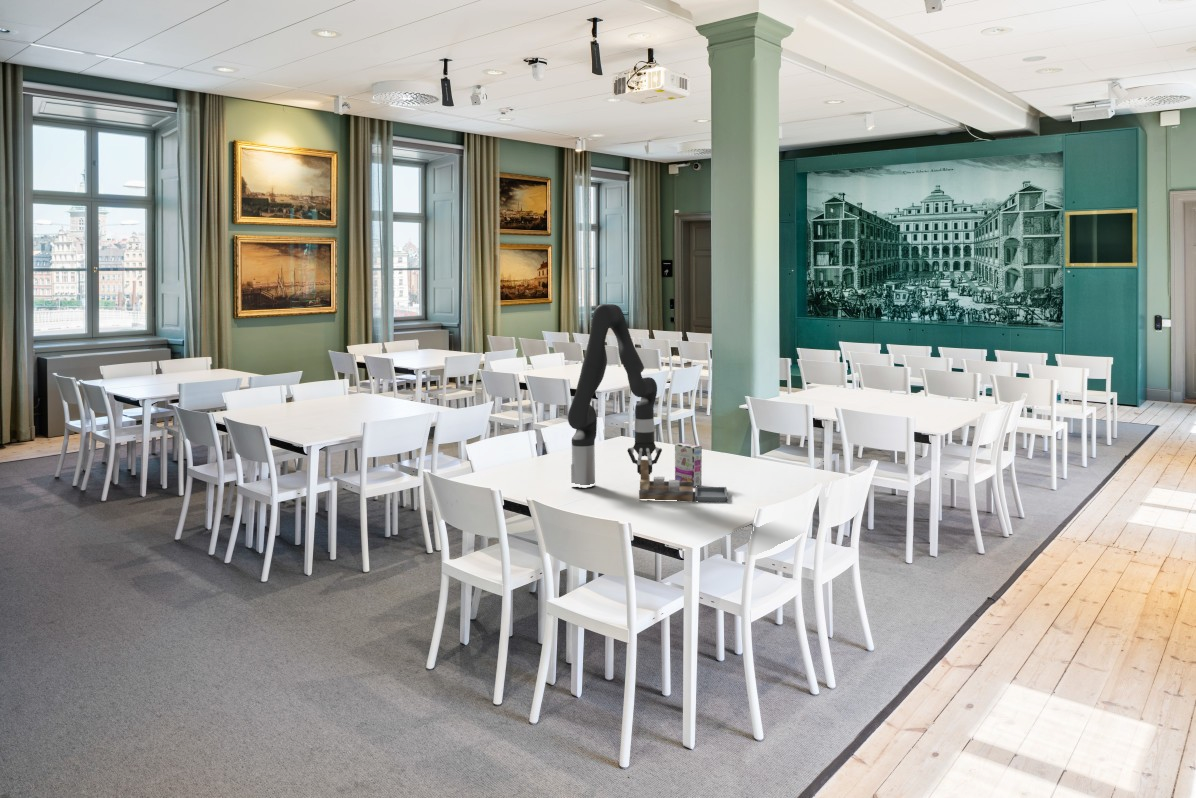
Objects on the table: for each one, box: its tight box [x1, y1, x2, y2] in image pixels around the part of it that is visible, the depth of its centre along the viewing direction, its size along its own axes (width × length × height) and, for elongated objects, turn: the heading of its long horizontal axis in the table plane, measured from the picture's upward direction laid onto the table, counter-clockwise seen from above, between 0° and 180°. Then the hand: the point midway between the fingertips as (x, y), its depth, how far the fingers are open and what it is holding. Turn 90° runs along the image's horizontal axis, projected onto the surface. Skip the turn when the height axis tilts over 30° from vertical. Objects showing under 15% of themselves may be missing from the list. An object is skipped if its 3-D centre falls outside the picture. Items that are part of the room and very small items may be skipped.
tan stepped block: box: [639, 459, 651, 490], centre depth 346 cm, size 3×11×11 cm, turn 173°
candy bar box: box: [674, 442, 703, 488], centre depth 364 cm, size 11×5×16 cm, turn 37°
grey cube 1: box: [653, 476, 665, 489], centre depth 349 cm, size 4×4×4 cm
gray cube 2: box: [668, 479, 680, 491], centre depth 344 cm, size 4×4×4 cm
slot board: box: [638, 480, 694, 502], centre depth 346 cm, size 20×16×4 cm
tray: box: [694, 486, 728, 503], centre depth 345 cm, size 12×16×2 cm
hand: (644, 473), depth 346 cm, fingers closed on tan stepped block, 3 cm apart
